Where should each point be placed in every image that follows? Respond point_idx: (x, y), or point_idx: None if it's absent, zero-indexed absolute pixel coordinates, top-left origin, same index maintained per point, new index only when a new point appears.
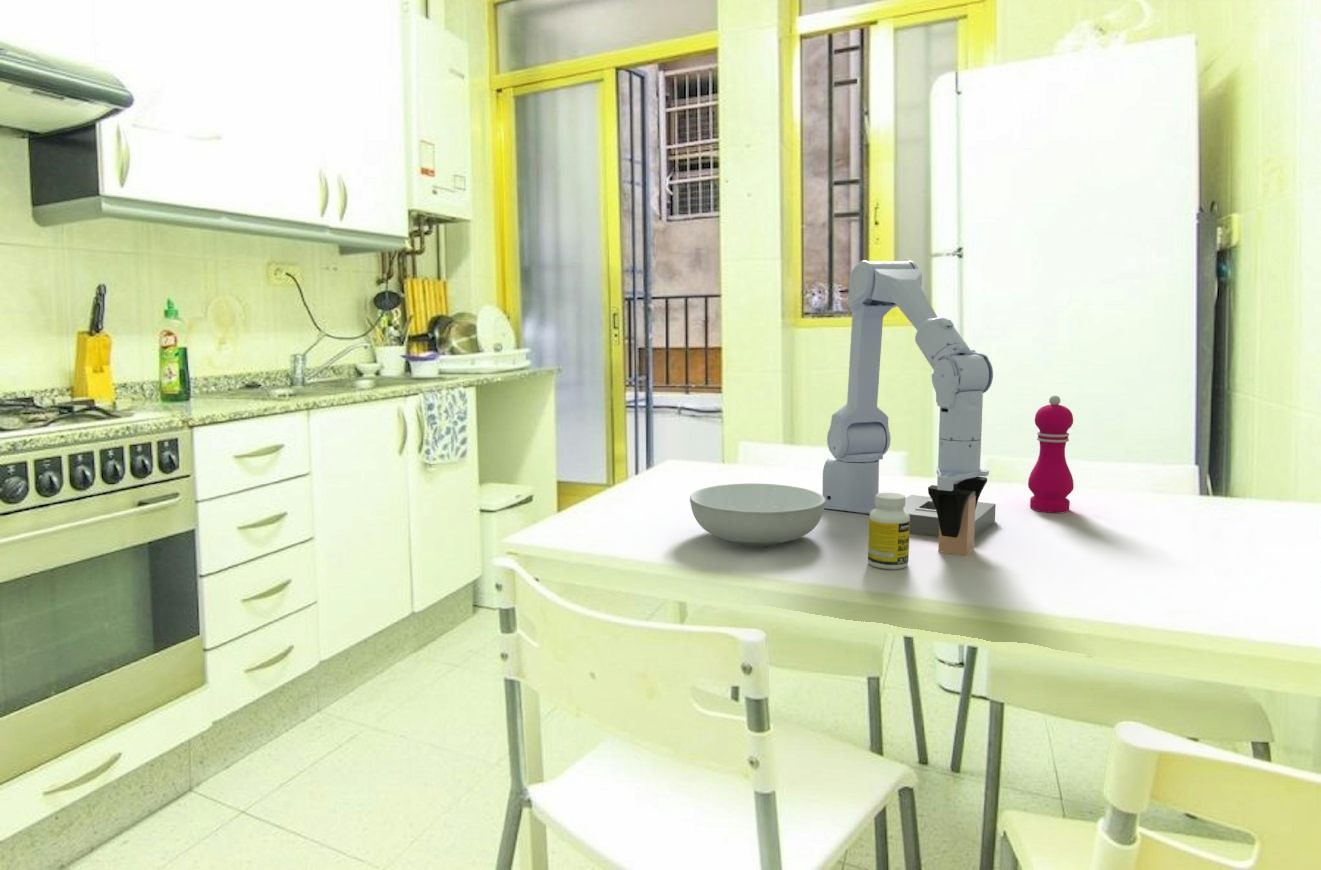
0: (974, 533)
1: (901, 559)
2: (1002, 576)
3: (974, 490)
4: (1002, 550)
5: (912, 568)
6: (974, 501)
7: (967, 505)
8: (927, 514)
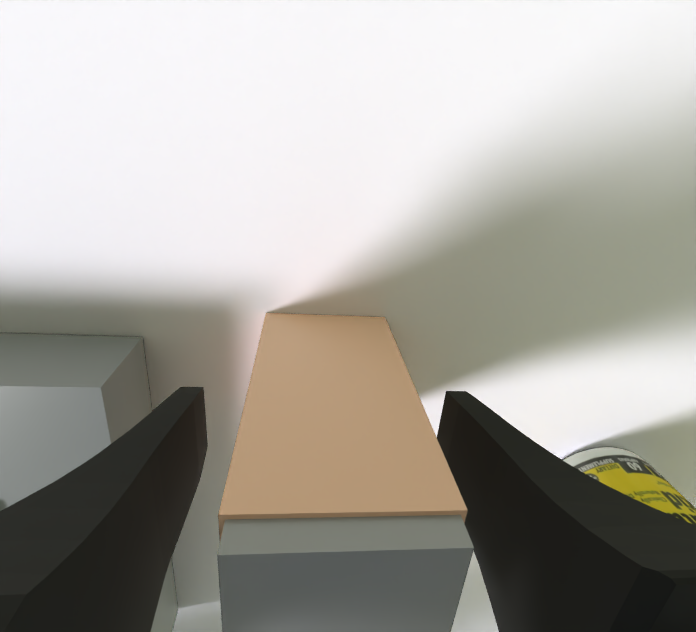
0: (115, 352)
1: (659, 474)
2: (649, 131)
3: (99, 566)
4: (226, 193)
5: (610, 428)
6: (263, 476)
7: (452, 483)
8: None
